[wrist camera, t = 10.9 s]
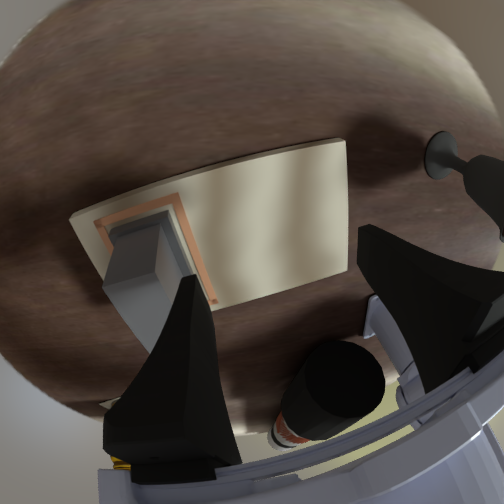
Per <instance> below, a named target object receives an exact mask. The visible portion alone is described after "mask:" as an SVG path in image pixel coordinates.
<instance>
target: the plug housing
mask: <svg viewBox="0 0 504 504" xmlns="http://www.w3.org/2000/svg"><path fill="white" fill-rule="evenodd" d="M182 277H183V275H182V273H181V271H180V268H179V266H178V264H177V262H176V259H175V257H174V255H173V252H172V250H171V248H170V245H169V243H168V240H167V238H166V236H165V233H164V231H163V228H162V226H161V223H160V224H157V225H154V226H151V227H148V228H145V229H142V230H138V231H135V232H132V233H129V234H126V235H123V236H120V237H117V240H116V243H115V246H114V249H113V252H112V255H111V258H110V261H109V265H108V268H107V271H106V275H105V278H104V281H103V285H102V289H103V290H104V292H105V293H106V295H107V296H108V298H109V299H110V301H111V302H112V304H113V305H114V306H115V308H116V309H117V311H118V312H119V314H120V315H121V316H122V318H123V319H124V321H125V322H126V323H127V325H128V326H129V327H130V329H131V330H132V331H133V333H134V334H135V335H136V337H137V338H138V339H139V341H140V342H141V343H142V345H143V346H144V347H145V348H146V350H147V351H148V352H149V353H151V351H152V350H153V348H154V346H155V344H156V342H157V340H158V338H159V336H160V334H161V331H162V329H163V327H164V324H165V322H166V320H167V317H168V315H169V312H170V309H171V307H172V304H173V301H174V299H175V296H176V293H177V290H178V287H179V283H180V280H181V278H182Z"/></svg>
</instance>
